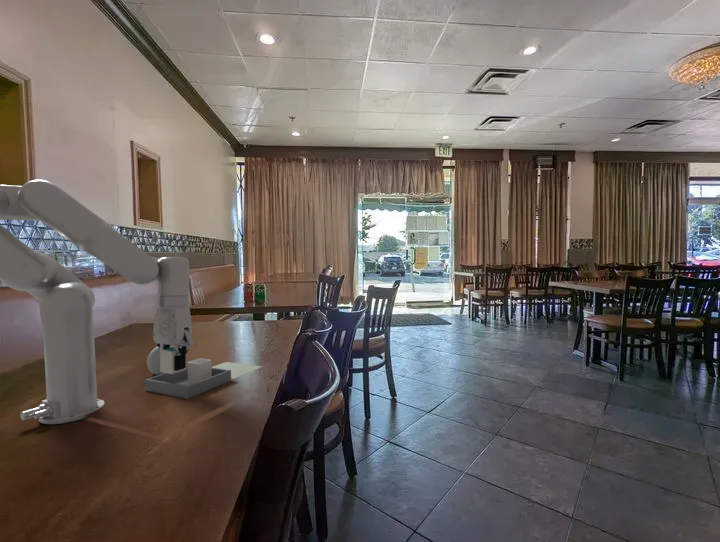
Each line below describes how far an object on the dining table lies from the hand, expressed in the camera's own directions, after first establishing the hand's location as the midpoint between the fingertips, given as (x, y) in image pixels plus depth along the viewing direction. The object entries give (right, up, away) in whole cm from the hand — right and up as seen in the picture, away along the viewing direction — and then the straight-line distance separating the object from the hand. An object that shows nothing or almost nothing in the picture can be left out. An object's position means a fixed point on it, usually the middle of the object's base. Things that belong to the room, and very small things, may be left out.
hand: (173, 367), depth 100 cm
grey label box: (+4, -6, +7) cm, 10 cm away
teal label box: (0, -1, 0) cm, 1 cm away
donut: (-12, -7, +17) cm, 22 cm away
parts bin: (+3, -7, +4) cm, 9 cm away
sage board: (+9, -7, +18) cm, 21 cm away
